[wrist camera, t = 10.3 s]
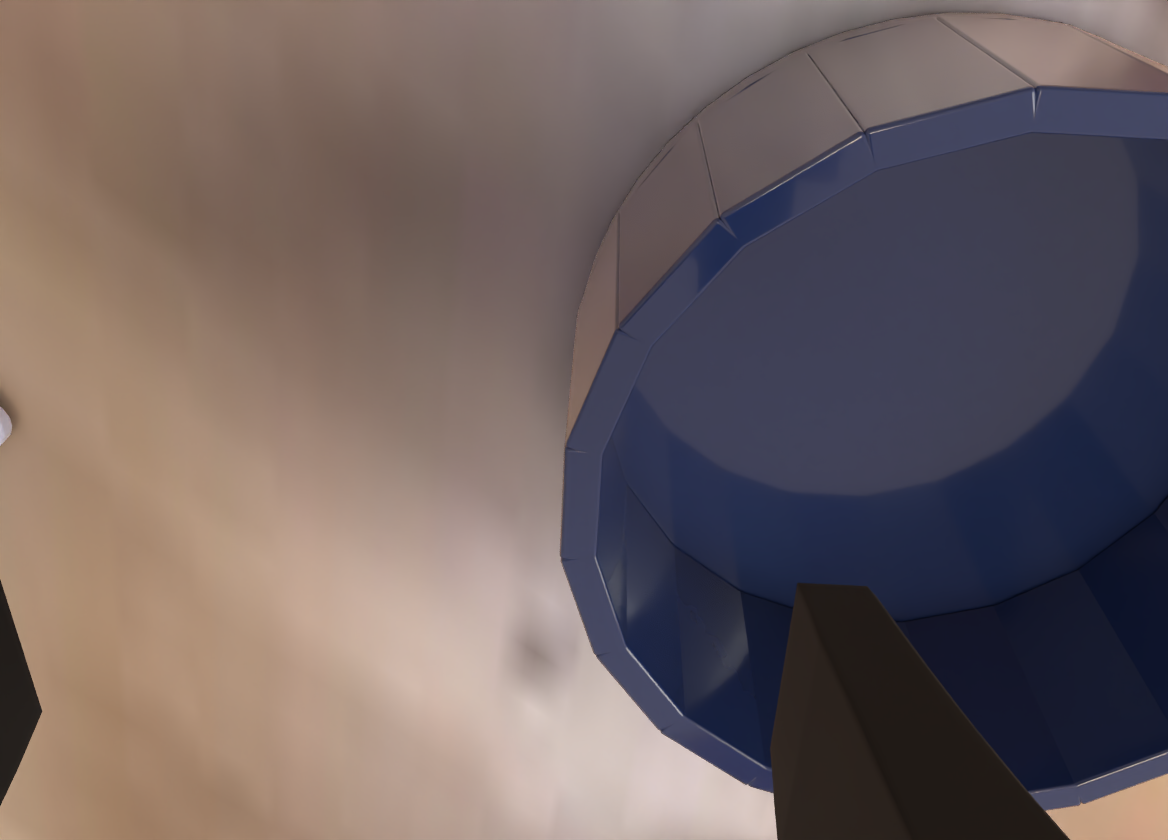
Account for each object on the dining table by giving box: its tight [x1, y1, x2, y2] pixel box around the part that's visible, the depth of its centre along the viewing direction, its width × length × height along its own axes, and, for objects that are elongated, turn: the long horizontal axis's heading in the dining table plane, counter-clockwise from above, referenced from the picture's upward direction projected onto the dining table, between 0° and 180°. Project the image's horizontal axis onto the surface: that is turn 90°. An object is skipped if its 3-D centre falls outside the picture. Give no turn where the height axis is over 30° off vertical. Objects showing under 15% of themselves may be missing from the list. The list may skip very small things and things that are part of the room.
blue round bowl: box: [560, 12, 1168, 811], centre depth 17 cm, size 12×12×5 cm
